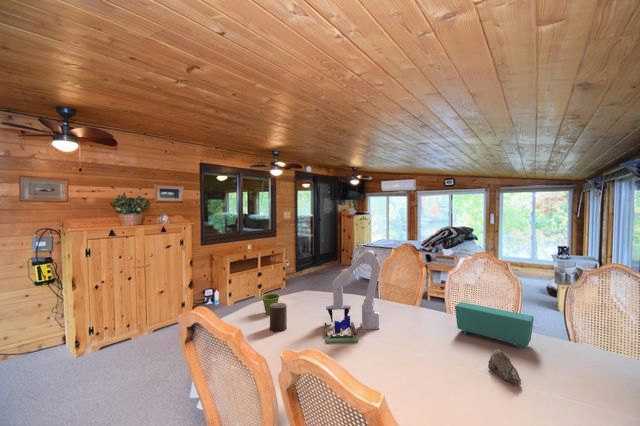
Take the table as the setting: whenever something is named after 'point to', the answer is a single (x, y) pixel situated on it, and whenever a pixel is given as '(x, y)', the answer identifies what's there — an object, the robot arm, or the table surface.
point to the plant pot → (269, 301)
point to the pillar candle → (278, 317)
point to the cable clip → (342, 324)
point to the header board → (342, 338)
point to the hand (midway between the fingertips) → (338, 321)
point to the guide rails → (351, 326)
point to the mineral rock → (503, 367)
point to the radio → (495, 323)
